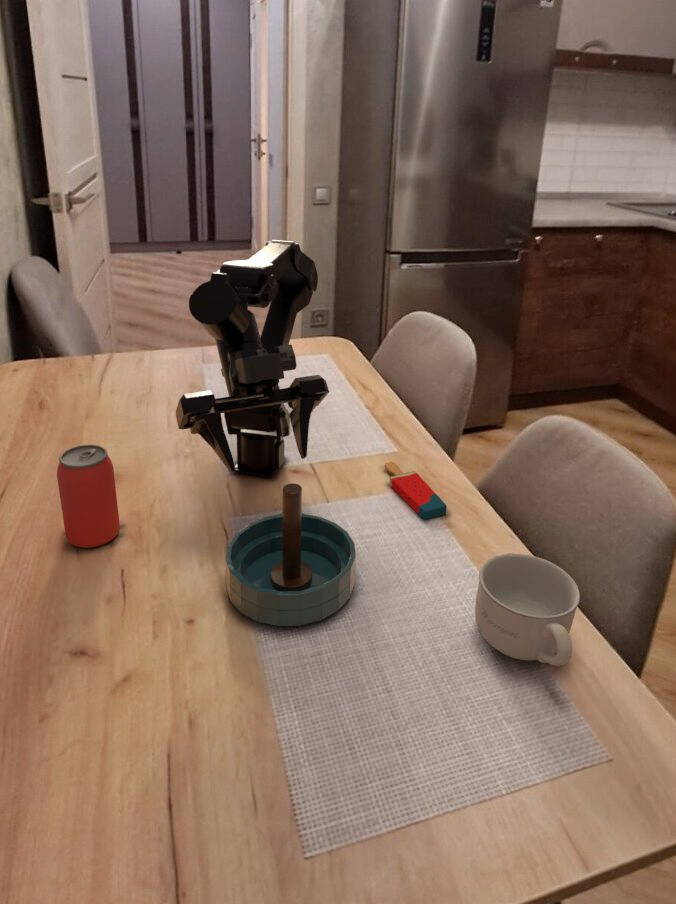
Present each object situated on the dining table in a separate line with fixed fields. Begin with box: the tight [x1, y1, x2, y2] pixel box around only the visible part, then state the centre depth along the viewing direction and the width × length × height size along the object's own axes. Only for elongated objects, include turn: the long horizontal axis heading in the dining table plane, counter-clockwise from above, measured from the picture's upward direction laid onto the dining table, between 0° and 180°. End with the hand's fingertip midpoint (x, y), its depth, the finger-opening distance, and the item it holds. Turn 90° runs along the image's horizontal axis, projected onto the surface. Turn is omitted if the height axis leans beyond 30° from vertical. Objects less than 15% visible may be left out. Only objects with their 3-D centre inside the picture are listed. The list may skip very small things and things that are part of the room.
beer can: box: [56, 444, 121, 549], centre depth 85 cm, size 7×7×12 cm
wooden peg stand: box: [271, 482, 312, 591], centre depth 79 cm, size 5×5×13 cm
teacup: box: [474, 552, 581, 667], centre depth 72 cm, size 14×11×8 cm
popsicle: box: [384, 461, 448, 520], centre depth 102 cm, size 5×2×15 cm
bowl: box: [224, 513, 357, 627], centre depth 80 cm, size 15×15×5 cm
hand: (269, 464), depth 83 cm, fingers open, 9 cm apart
